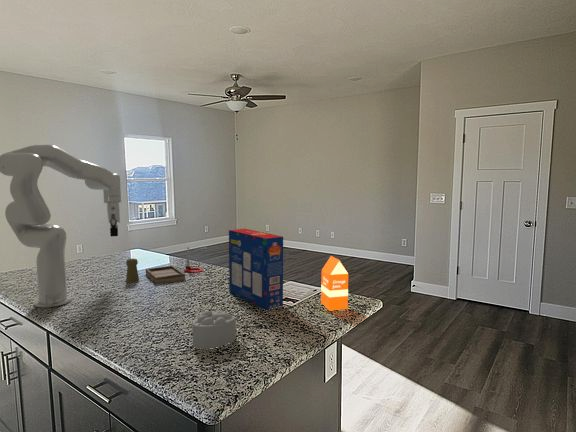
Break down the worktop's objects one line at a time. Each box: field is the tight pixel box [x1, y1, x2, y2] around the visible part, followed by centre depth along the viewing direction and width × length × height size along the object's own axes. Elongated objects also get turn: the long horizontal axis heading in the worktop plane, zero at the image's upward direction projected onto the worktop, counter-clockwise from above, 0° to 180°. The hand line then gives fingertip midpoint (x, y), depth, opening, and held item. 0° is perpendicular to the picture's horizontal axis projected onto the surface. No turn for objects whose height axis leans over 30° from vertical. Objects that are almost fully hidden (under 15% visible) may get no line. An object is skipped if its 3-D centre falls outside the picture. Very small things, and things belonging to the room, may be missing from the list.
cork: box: [125, 258, 140, 284], centre depth 179 cm, size 6×6×11 cm
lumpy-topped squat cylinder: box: [191, 309, 237, 349], centre depth 113 cm, size 10×13×9 cm
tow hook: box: [183, 247, 204, 274], centre depth 199 cm, size 8×13×9 cm
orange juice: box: [320, 255, 349, 311], centre depth 143 cm, size 8×9×20 cm
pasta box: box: [228, 228, 284, 311], centre depth 152 cm, size 28×8×28 cm, turn 39°
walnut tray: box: [145, 265, 186, 285], centre depth 186 cm, size 20×14×3 cm
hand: (114, 234), depth 179 cm, fingers open, 9 cm apart
